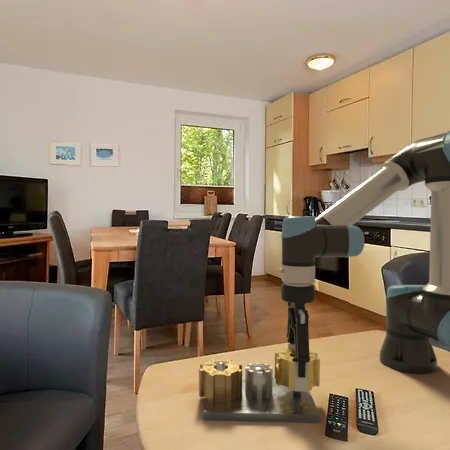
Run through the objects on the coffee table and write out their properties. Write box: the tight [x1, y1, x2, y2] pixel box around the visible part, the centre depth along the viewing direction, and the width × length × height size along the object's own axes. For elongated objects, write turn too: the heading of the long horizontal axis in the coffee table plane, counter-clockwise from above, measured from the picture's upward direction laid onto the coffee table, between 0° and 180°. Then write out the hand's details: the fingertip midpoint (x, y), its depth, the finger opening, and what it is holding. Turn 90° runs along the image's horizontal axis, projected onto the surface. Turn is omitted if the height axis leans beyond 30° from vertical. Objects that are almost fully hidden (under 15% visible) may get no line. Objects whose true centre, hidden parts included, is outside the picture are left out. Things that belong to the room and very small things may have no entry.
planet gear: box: [274, 347, 321, 392], centre depth 86 cm, size 10×10×6 cm
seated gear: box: [198, 358, 243, 403], centre depth 87 cm, size 10×10×6 cm
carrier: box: [202, 361, 321, 424], centre depth 86 cm, size 24×18×9 cm
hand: (296, 380), depth 86 cm, fingers closed on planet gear, 10 cm apart
